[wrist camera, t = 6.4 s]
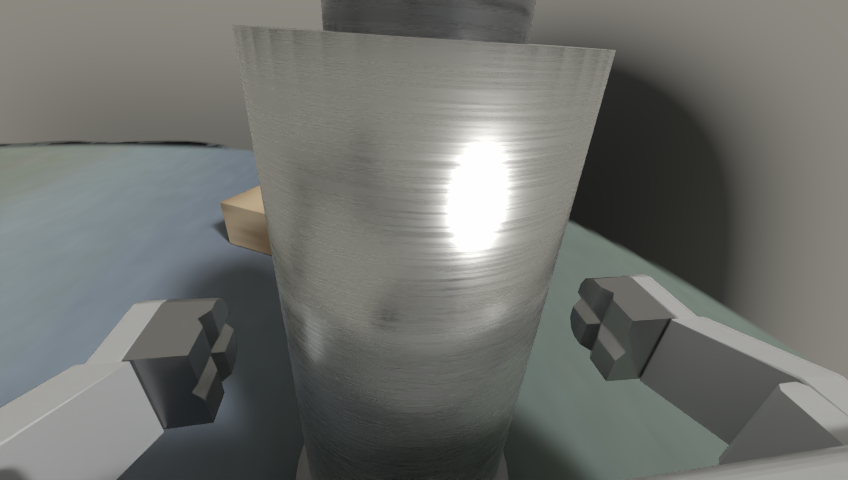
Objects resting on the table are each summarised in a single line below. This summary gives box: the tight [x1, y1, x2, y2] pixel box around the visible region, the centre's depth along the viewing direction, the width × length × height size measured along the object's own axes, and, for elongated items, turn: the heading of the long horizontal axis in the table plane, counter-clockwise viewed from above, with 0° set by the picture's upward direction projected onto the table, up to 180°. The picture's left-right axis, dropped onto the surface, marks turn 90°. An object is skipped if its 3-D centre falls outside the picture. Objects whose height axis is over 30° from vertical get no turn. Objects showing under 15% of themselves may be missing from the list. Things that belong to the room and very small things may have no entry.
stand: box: [220, 185, 272, 255], centre depth 26 cm, size 10×10×3 cm
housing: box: [232, 0, 616, 480], centre depth 9 cm, size 7×7×14 cm
